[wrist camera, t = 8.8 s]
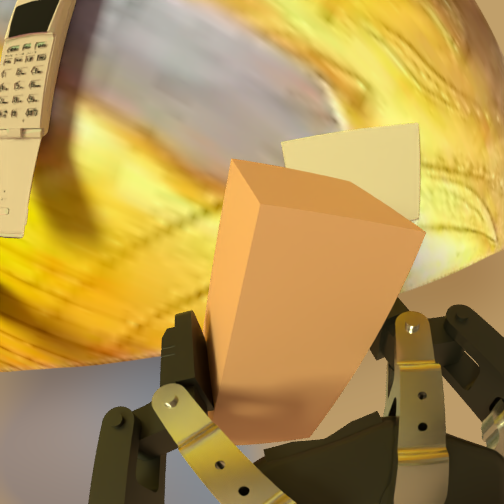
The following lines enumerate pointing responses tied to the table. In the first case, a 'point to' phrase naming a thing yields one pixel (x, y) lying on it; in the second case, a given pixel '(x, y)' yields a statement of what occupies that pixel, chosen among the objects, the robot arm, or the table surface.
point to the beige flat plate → (366, 162)
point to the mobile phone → (27, 100)
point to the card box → (296, 296)
